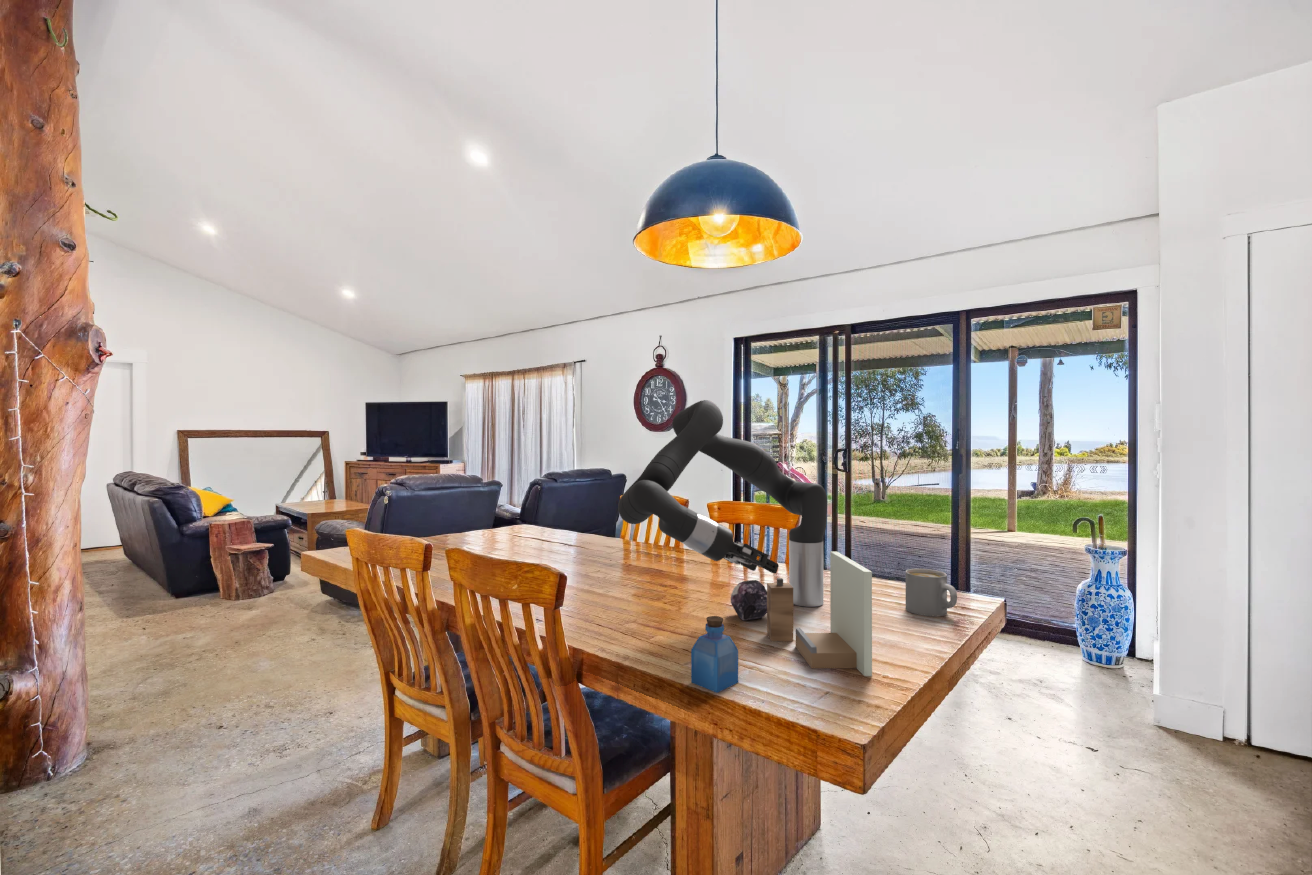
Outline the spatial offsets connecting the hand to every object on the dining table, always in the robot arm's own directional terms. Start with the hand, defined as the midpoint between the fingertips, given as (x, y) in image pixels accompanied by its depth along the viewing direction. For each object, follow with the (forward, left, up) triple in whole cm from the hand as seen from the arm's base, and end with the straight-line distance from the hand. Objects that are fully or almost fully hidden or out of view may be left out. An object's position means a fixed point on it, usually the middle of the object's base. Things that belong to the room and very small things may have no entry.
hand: (765, 568), depth 129 cm
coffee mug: (-23, +48, -17) cm, 56 cm away
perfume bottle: (+19, -14, -17) cm, 29 cm away
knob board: (-5, +4, -17) cm, 18 cm away
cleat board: (+7, +12, -17) cm, 22 cm away
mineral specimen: (-20, 0, -17) cm, 26 cm away
